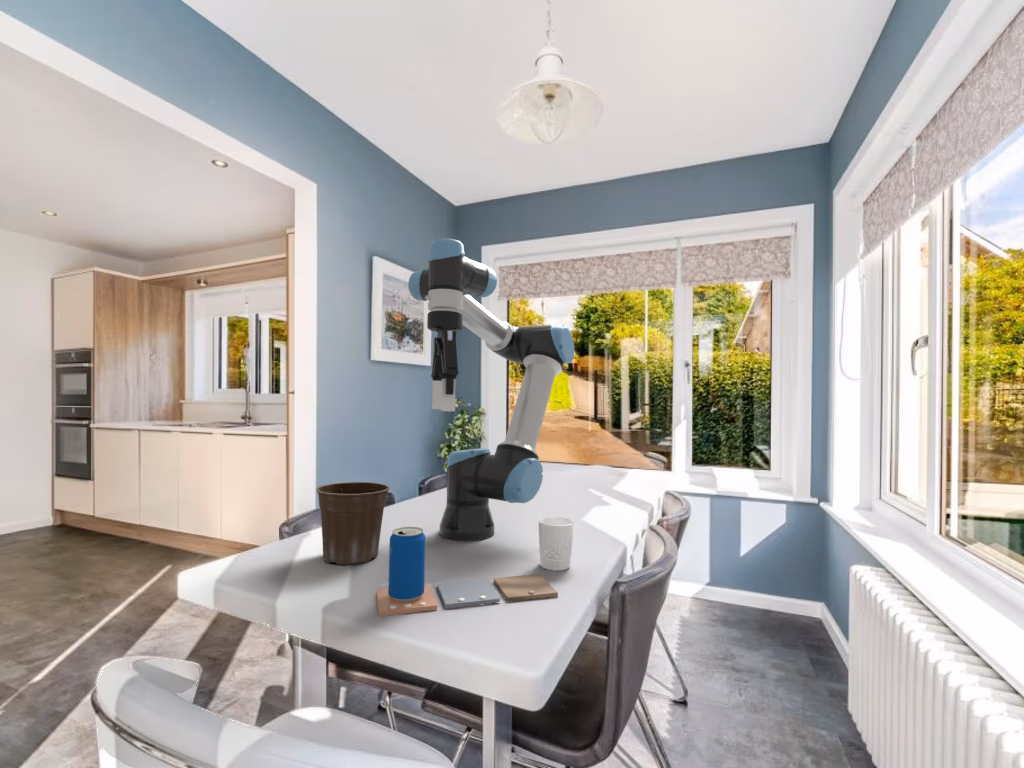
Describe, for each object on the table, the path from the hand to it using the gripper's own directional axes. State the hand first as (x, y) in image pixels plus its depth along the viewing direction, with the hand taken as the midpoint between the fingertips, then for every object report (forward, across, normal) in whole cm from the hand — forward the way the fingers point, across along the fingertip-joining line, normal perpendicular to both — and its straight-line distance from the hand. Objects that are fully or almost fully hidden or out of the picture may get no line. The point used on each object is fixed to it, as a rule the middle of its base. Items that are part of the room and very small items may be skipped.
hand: (442, 410), depth 105 cm
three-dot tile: (+35, +13, -8) cm, 38 cm away
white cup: (+35, +2, +26) cm, 44 cm away
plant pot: (+35, -15, -18) cm, 42 cm away
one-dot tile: (+35, +13, +15) cm, 40 cm away
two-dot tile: (+35, +13, +4) cm, 37 cm away
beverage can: (+34, +13, -8) cm, 37 cm away
